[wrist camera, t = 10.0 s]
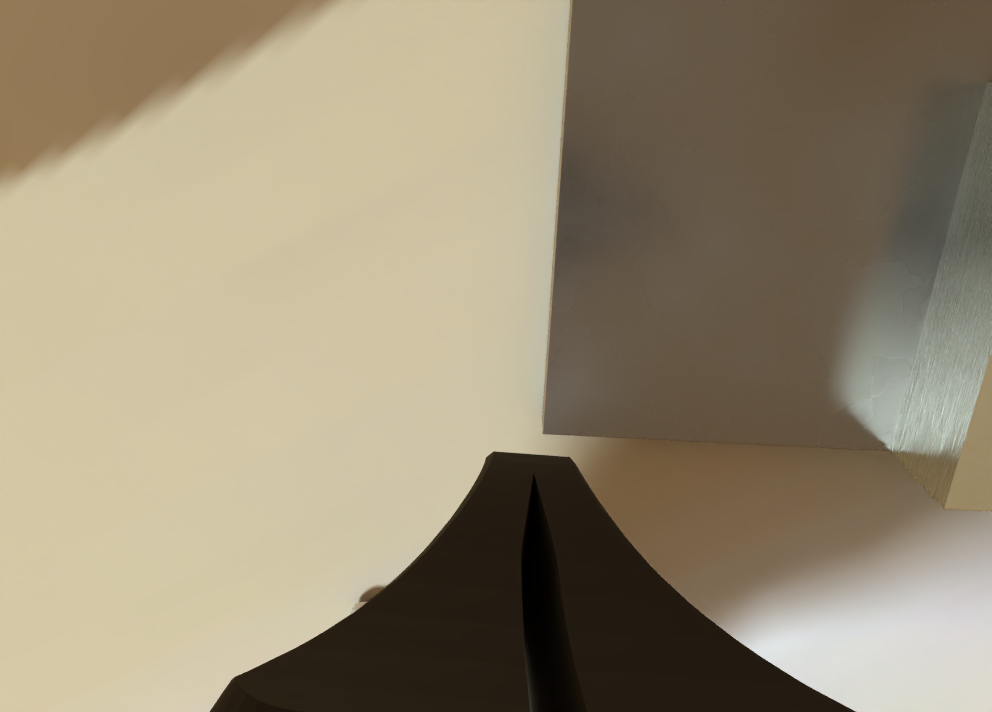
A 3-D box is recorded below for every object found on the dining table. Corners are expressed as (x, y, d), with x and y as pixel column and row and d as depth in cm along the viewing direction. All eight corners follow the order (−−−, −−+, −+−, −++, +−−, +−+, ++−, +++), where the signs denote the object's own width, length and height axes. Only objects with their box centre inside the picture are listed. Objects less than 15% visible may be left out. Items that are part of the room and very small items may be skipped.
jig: (1212, 451, 23) (1349, 529, 19) (542, 418, 23) (546, 488, 19) (1450, -87, 17) (1702, -126, 14) (578, -119, 18) (593, -165, 14)
